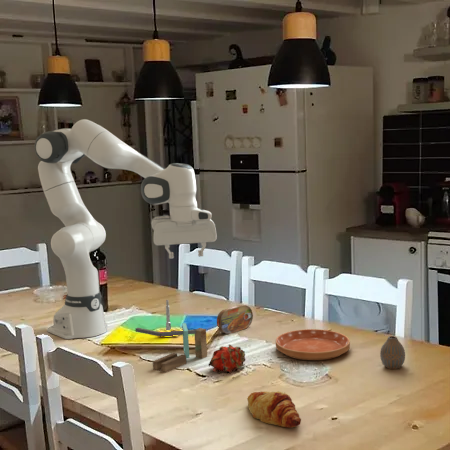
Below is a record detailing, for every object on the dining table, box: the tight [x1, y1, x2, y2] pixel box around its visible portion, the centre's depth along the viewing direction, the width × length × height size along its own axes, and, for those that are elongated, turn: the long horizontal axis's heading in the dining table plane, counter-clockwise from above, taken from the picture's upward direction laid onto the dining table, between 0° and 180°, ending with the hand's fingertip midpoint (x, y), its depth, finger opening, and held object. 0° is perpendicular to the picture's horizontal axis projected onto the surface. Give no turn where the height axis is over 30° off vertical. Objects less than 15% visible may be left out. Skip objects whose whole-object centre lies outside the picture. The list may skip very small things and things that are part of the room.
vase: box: [379, 335, 406, 370], centre depth 197 cm, size 7×7×9 cm
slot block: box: [152, 352, 187, 373], centre depth 203 cm, size 5×9×4 cm, turn 142°
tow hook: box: [165, 299, 172, 330], centre depth 239 cm, size 8×13×9 cm
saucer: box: [275, 328, 351, 361], centre depth 215 cm, size 23×23×4 cm
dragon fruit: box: [208, 344, 246, 373], centre depth 199 cm, size 8×8×12 cm
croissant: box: [246, 390, 302, 429], centre depth 167 cm, size 21×10×8 cm, turn 31°
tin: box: [216, 304, 254, 335], centre depth 239 cm, size 15×3×8 cm, turn 131°
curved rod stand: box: [135, 327, 208, 359], centre depth 212 cm, size 21×12×10 cm, turn 52°
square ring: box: [181, 322, 190, 359], centre depth 209 cm, size 1×8×8 cm, turn 7°
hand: (186, 257), depth 222 cm, fingers open, 8 cm apart
